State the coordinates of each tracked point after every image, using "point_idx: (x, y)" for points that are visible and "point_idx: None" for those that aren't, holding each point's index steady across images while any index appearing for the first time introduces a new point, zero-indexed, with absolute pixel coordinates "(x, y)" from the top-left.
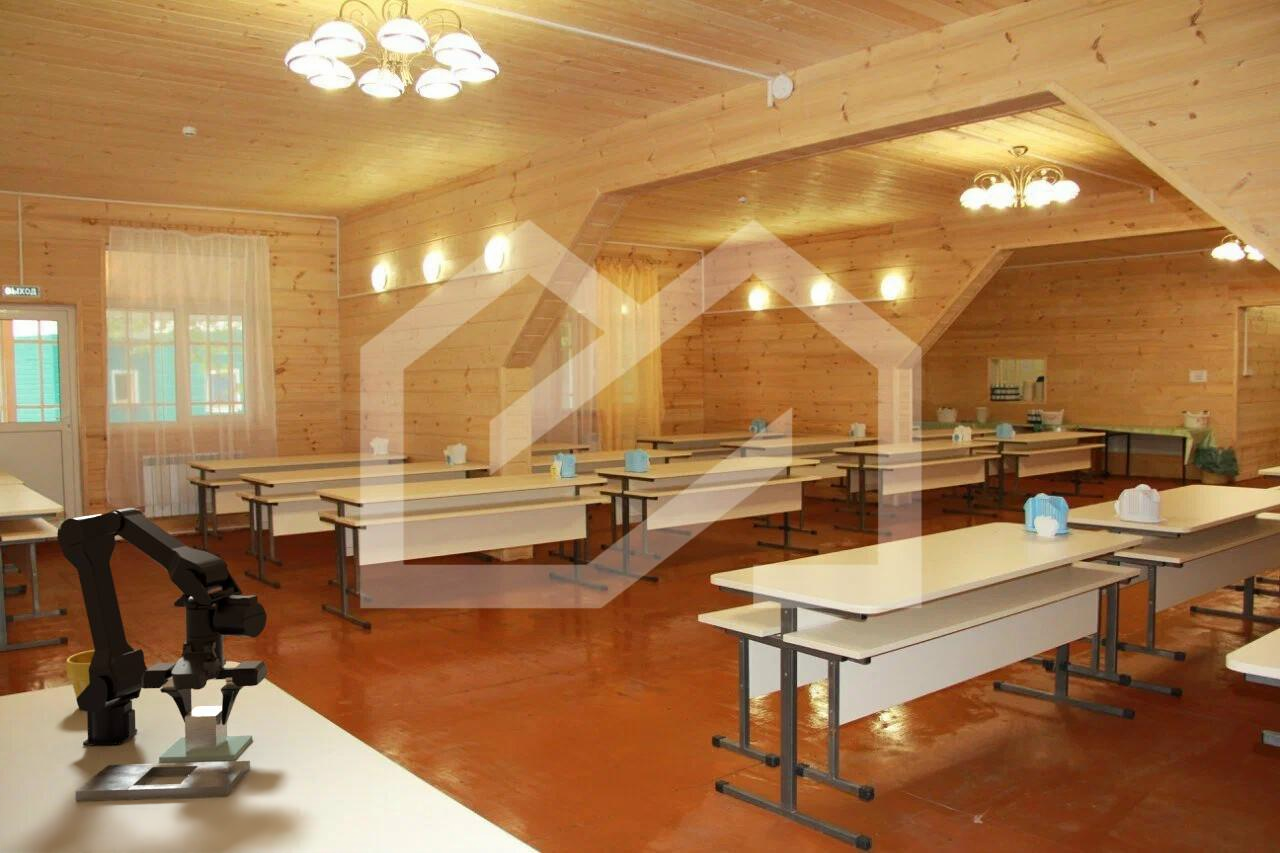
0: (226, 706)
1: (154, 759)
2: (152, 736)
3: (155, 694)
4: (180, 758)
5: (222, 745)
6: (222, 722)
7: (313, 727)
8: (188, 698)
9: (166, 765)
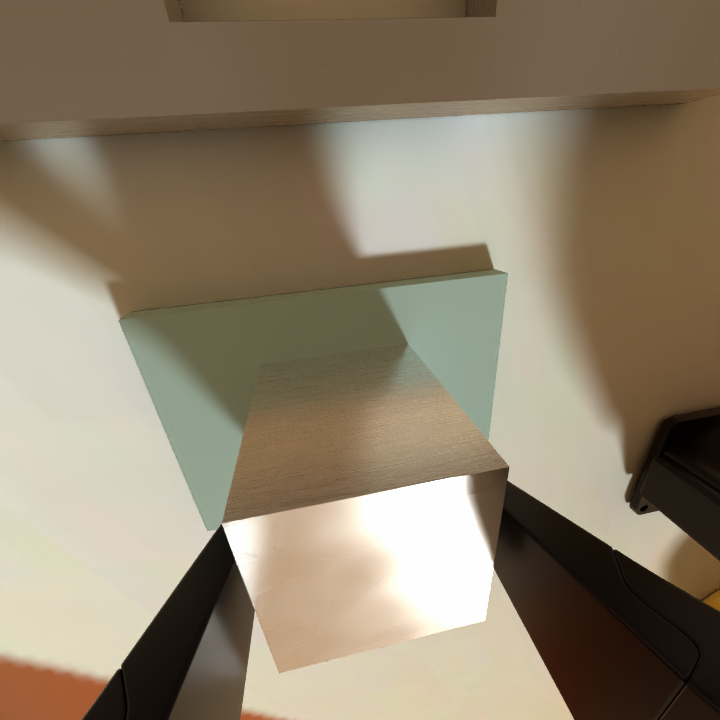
0: (137, 670)
1: (523, 302)
2: (578, 488)
3: None
4: (405, 282)
5: None
6: None
7: (48, 635)
8: (588, 688)
9: (415, 54)
